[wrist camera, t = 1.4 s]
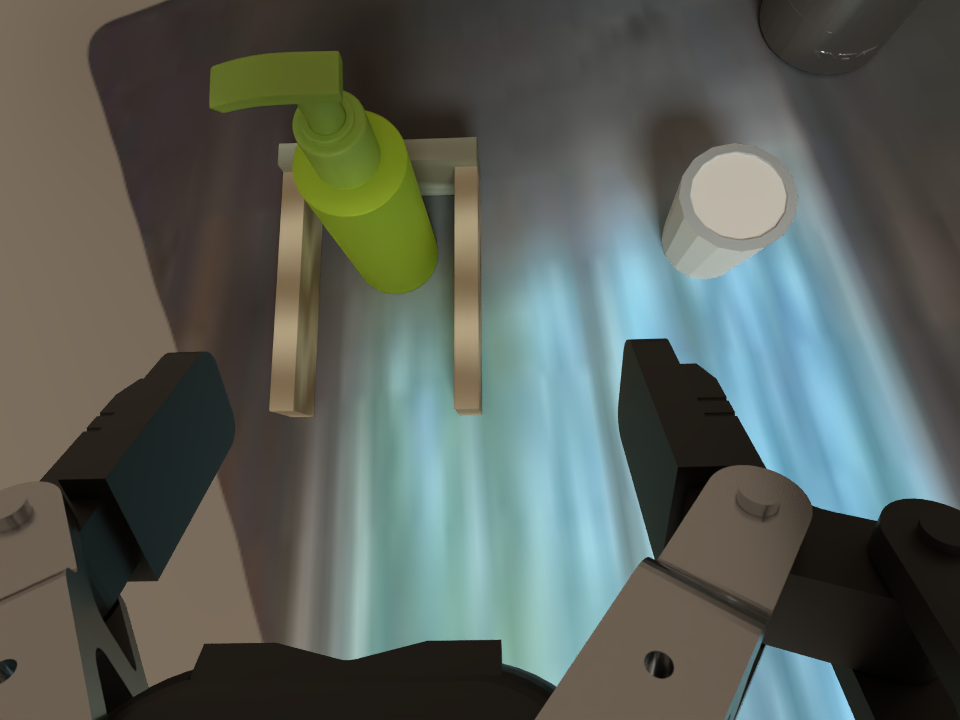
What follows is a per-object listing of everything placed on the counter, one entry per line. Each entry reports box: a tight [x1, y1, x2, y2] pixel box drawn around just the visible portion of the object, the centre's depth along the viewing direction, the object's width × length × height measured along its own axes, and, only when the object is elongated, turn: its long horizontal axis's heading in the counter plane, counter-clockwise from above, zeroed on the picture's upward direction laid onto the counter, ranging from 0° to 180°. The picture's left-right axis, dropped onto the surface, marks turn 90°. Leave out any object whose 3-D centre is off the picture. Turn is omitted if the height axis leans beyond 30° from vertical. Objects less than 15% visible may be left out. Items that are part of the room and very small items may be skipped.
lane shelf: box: [269, 137, 482, 417], centre depth 40 cm, size 18×13×5 cm
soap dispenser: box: [209, 51, 438, 294], centre depth 34 cm, size 6×7×20 cm
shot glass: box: [661, 143, 798, 279], centre depth 39 cm, size 7×7×7 cm
